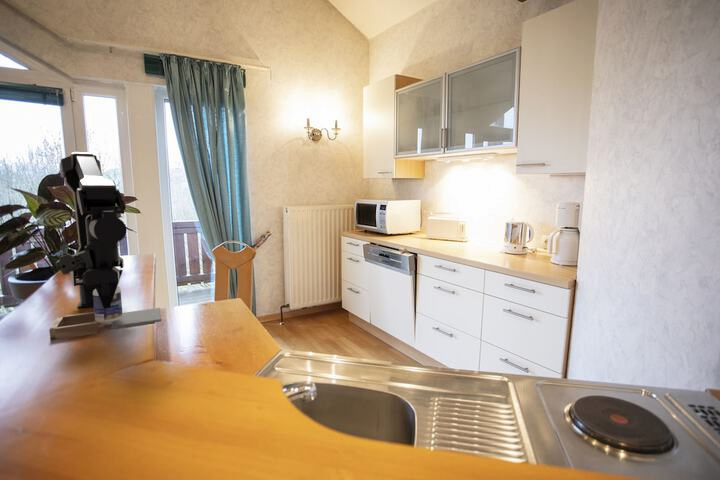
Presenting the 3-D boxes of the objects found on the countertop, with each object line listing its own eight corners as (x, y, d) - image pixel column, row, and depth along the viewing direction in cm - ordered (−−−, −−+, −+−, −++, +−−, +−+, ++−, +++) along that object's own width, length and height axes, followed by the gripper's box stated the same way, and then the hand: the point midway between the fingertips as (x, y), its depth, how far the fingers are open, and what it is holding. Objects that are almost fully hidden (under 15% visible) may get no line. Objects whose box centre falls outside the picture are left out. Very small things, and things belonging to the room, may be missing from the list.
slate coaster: (115, 316, 92) (115, 313, 92) (160, 309, 97) (159, 307, 97) (112, 328, 84) (111, 326, 84) (161, 321, 89) (161, 318, 89)
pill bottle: (108, 324, 83) (105, 282, 81) (89, 322, 84) (85, 281, 83) (128, 316, 88) (125, 277, 87) (109, 314, 89) (106, 275, 88)
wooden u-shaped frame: (59, 326, 85) (58, 316, 85) (102, 320, 89) (101, 311, 89) (50, 340, 77) (49, 329, 77) (97, 333, 81) (96, 322, 81)
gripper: (66, 236, 88) (72, 299, 90) (47, 246, 71) (55, 323, 74) (121, 234, 93) (126, 293, 95) (115, 243, 77) (120, 314, 79)
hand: (108, 304), depth 85 cm, fingers closed on pill bottle, 5 cm apart
